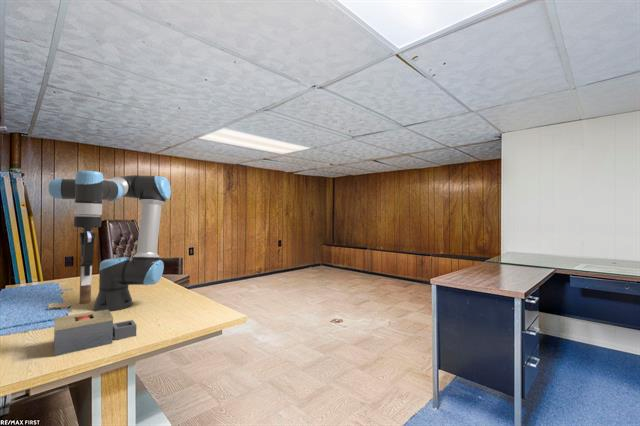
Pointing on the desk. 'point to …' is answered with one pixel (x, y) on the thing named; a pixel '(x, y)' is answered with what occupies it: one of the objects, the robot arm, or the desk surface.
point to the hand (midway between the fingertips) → (85, 283)
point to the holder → (124, 329)
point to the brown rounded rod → (84, 290)
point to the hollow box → (82, 331)
